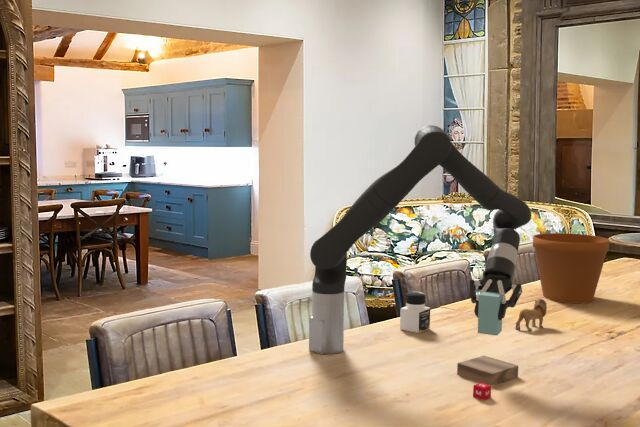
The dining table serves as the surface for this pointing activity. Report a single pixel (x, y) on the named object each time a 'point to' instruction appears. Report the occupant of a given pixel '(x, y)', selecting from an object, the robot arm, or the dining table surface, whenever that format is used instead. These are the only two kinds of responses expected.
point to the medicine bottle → (415, 313)
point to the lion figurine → (533, 314)
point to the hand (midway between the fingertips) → (488, 317)
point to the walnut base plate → (487, 370)
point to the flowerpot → (570, 265)
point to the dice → (482, 391)
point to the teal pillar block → (489, 313)
